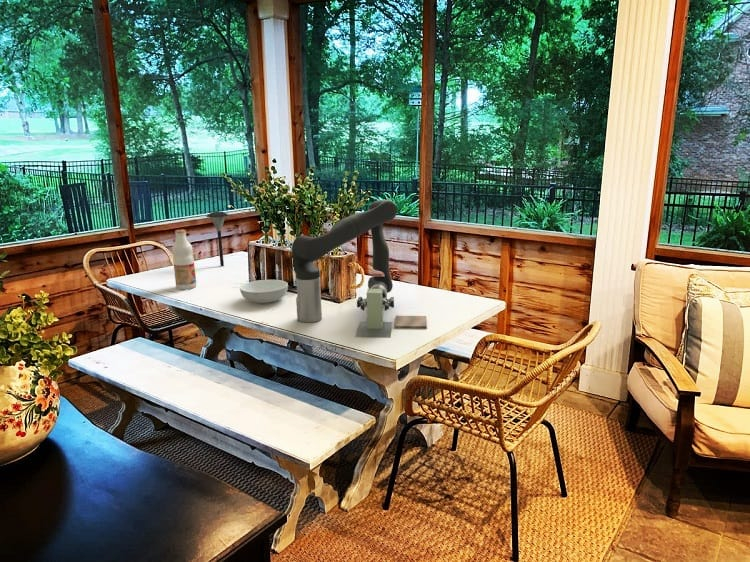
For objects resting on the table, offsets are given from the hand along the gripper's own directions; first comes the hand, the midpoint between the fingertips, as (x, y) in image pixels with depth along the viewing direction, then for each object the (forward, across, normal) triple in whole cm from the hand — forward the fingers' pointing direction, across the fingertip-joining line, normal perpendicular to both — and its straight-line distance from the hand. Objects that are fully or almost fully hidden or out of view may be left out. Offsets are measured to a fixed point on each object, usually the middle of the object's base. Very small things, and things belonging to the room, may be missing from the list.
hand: (374, 308), depth 212 cm
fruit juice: (-55, -96, +8) cm, 110 cm away
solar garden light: (-98, -92, +8) cm, 135 cm away
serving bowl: (-35, -52, +8) cm, 63 cm away
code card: (+2, 0, +8) cm, 8 cm away
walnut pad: (-6, +14, +8) cm, 17 cm away
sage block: (-2, 0, +8) cm, 8 cm away
